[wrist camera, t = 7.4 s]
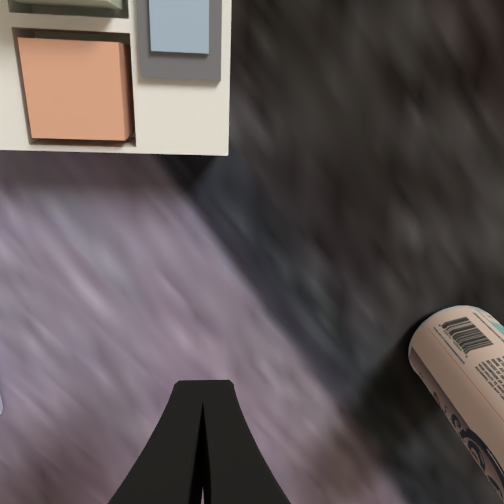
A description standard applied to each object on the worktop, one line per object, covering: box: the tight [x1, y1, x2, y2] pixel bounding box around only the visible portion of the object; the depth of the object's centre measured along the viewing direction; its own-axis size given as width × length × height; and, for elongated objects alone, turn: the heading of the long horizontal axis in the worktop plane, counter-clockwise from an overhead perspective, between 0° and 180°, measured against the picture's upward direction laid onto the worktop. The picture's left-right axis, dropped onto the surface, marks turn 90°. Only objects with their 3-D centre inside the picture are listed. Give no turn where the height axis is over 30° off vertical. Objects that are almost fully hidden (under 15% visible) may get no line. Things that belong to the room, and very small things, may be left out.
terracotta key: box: [17, 37, 135, 141], centre depth 15 cm, size 3×3×2 cm
